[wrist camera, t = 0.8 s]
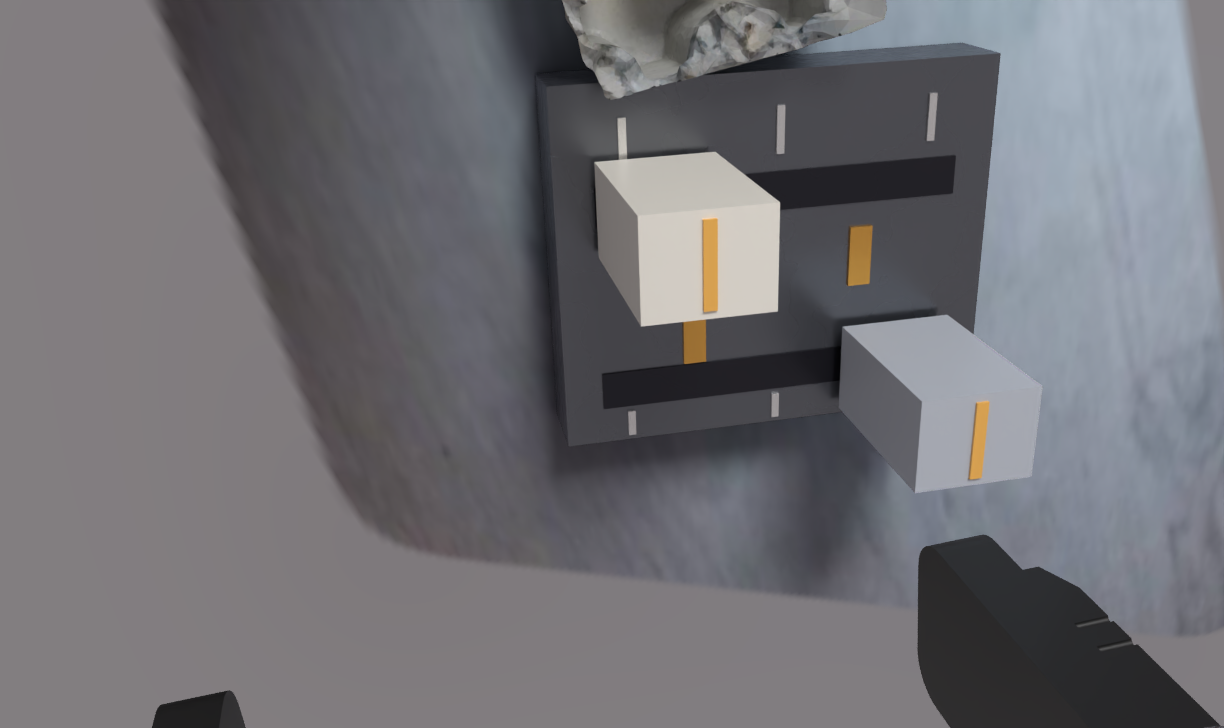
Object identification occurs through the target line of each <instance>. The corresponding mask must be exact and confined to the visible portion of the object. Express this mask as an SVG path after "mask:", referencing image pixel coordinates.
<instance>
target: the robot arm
mask: <svg viewBox="0 0 1224 728" xmlns="http://www.w3.org/2000/svg"><path fill="white" fill-rule="evenodd" d="M918 659H919V665H920V670H921V674H922V678H923V681H924V684H925V686H926V689H927V691H928V694H929V696H930V698H931V699H932V701H933V703H934V705H935V706H936V708H937V709H938V711H939V712H940V714H941V715H942V716H943V718H944V719H945V720H946V722H947V724H948V725H949V726H950V728H1224V726H1220V725H1219V724H1218V723H1217V722H1216V721H1215V720H1214V719H1213V718H1212V717H1211V716H1210V715H1209V714H1208V713H1207V712H1206V711H1205V710H1204V709H1203V708H1202V707H1201V706H1200V705H1199V704H1198V703H1197V702H1196V701H1195V700H1194V699H1193V698H1191V696H1190V695H1189V694H1187V692H1186V691H1184V690H1183V689H1182V688H1181V687H1180V686H1179V685H1178V684H1177V683H1176V682H1175V681H1174V680H1173V679H1172V678H1171V677H1170V676H1169V675H1168V674H1167V673H1166V672H1165V671H1164V670H1163V669H1162V668H1161V667H1160V666H1159V665H1158V664H1157V663H1156V662H1155V661H1154V660H1153V659H1152V658H1151V657H1150V656H1149V655H1148V654H1147V653H1146V652H1145V651H1144V650H1143V649H1142V648H1141V647H1140V646H1139V645H1133V643H1132V640H1131V638H1130V637H1129V636H1128V635H1127V634H1126V633H1125V632H1124V631H1123V630H1122V629H1121V628H1120V627H1119V626H1118V625H1117V624H1116V623H1115V622H1114V621H1112V622H1110V621H1109V619H1108V615H1107V614H1106V613H1105V612H1104V611H1103V610H1102V609H1101V608H1100V607H1099V606H1098V605H1097V604H1096V603H1095V602H1094V601H1093V600H1092V599H1091V598H1089V597H1088V596H1087V595H1086V594H1085V593H1084V592H1083V591H1082V590H1081V589H1080V588H1079V587H1077V586H1075V585H1073V584H1071V583H1069V582H1067V581H1065V580H1063V579H1062V578H1060V577H1058V576H1056V575H1054V574H1052V573H1050V572H1048V571H1046V570H1044V569H1042V568H1040V567H1035V568H1030V569H1025V570H1022V569H1021V568H1020V567H1019V566H1018V565H1017V564H1016V563H1015V562H1014V561H1013V560H1012V559H1011V557H1010V556H1009V555H1008V554H1007V553H1006V552H1005V551H1004V550H1003V549H1002V548H1001V547H1000V546H999V545H998V544H997V543H996V542H995V541H994V540H993V539H992V538H991V537H989V536H987V535H979V536H974V537H969V538H964V539H960V540H955V541H950V542H945V543H941V544H936V545H931V546H926V547H924V548H923V549H922V551H921V553H920V556H919V565H918ZM152 728H246V727H245V724H244V721H243V717H242V715H241V711H240V707H239V705H238V702H237V700H236V697H235V695H234V694H233V692H232V691H224V692H219V693H215V694H210V695H205V696H200V697H195V698H191V699H186V700H182V701H176V702H171V703H167V704H162V705H160V706H159V707H158V709H157V711H156V714H155V718H154V722H153V726H152Z"/></svg>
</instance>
